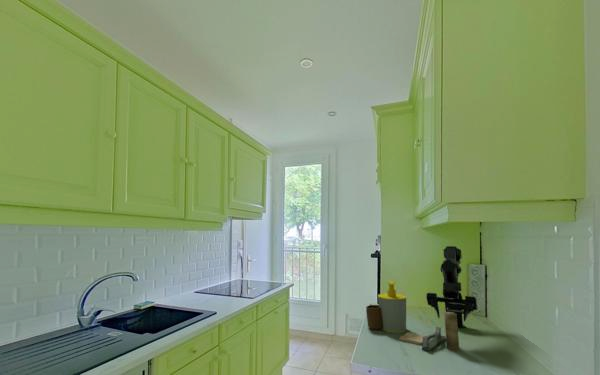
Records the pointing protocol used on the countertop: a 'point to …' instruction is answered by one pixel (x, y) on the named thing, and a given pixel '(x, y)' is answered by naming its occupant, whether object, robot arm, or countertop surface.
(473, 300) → the robot arm
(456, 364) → the countertop surface
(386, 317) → the soap bottle
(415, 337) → the terracotta tile
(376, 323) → the mug
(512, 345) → the countertop surface
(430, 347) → the gray metal frame
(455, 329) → the tan wooden cylinder
